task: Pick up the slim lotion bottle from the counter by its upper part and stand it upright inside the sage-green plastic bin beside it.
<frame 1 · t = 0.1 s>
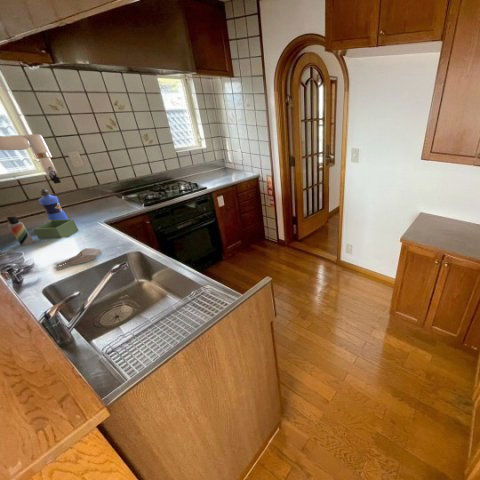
hand: (56, 181, 174), 30 cm above the countertop, tool pointing down, fingers open, 9 cm apart
tan elongated piece: (80, 261, 143), on the countertop
water bottle: (61, 223, 189), on the countertop
bin: (60, 235, 171), on the countertop
lotion bottle: (29, 246, 160), on the countertop
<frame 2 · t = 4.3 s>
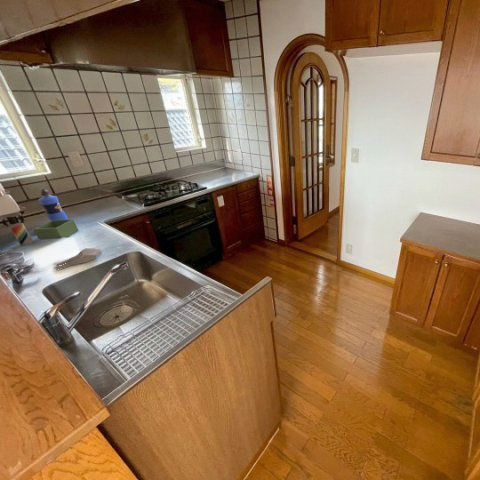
hand: (15, 223, 152), 15 cm above the countertop, tool pointing down, fingers closed on lotion bottle, 5 cm apart
lotion bottle: (29, 246, 160), on the countertop, touching gripper
everything else where it was.
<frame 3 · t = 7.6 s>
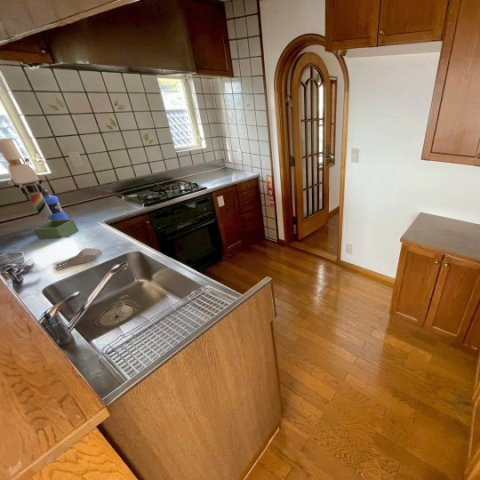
hand: (33, 192, 156), 30 cm above the countertop, tool pointing down, fingers closed on lotion bottle, 5 cm apart
lotion bottle: (46, 216, 163), point 15 cm above the countertop, touching gripper
everything else where it was.
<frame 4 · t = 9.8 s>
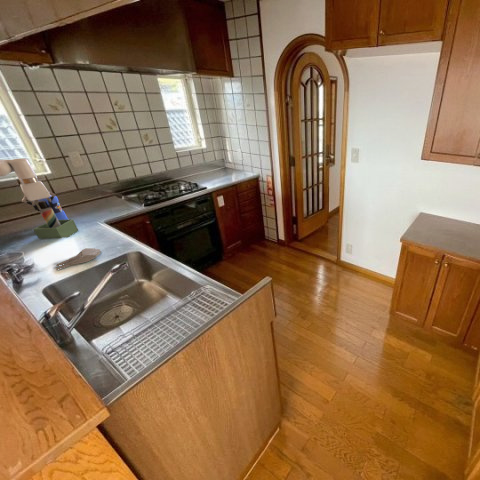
hand: (45, 209, 162), 19 cm above the countertop, tool pointing down, fingers closed on lotion bottle, 5 cm apart
lotion bottle: (57, 230, 169), point 4 cm above the countertop, touching gripper
everything else where it was.
when the fingers open (16 cm above the countertop, at t = 11.1 s): lotion bottle stays where it is, resting on bin.
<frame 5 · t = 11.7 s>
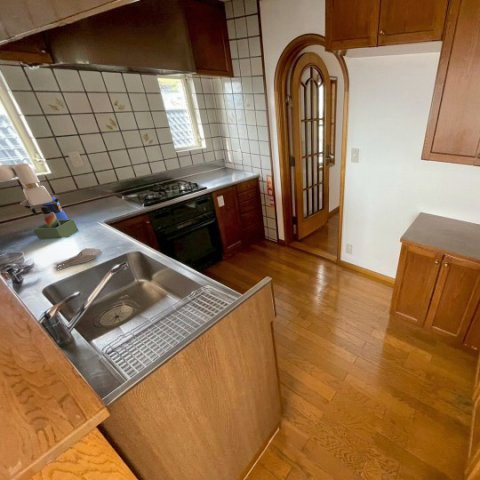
hand: (47, 212, 163), 17 cm above the countertop, tool pointing down, fingers open, 9 cm apart
lotion bottle: (59, 235, 171), resting on bin
everything else where it was.
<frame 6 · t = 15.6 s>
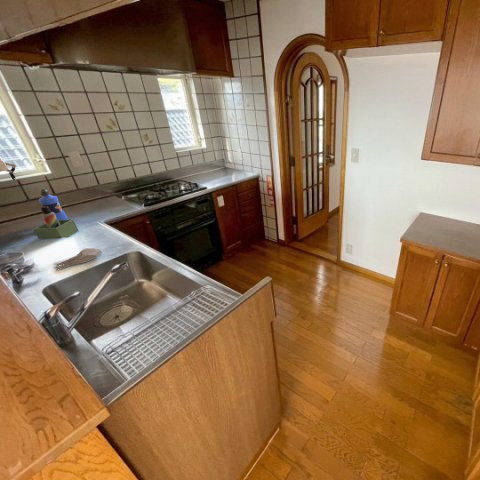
hand: (2, 181, 154), 36 cm above the countertop, tool pointing down, fingers open, 9 cm apart
nothing on the countertop moved.
at the end: lotion bottle inside the target area in the bin (0.1 cm from its centre), point 0.4 cm above the bin's base; lotion bottle tilted 0° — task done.
